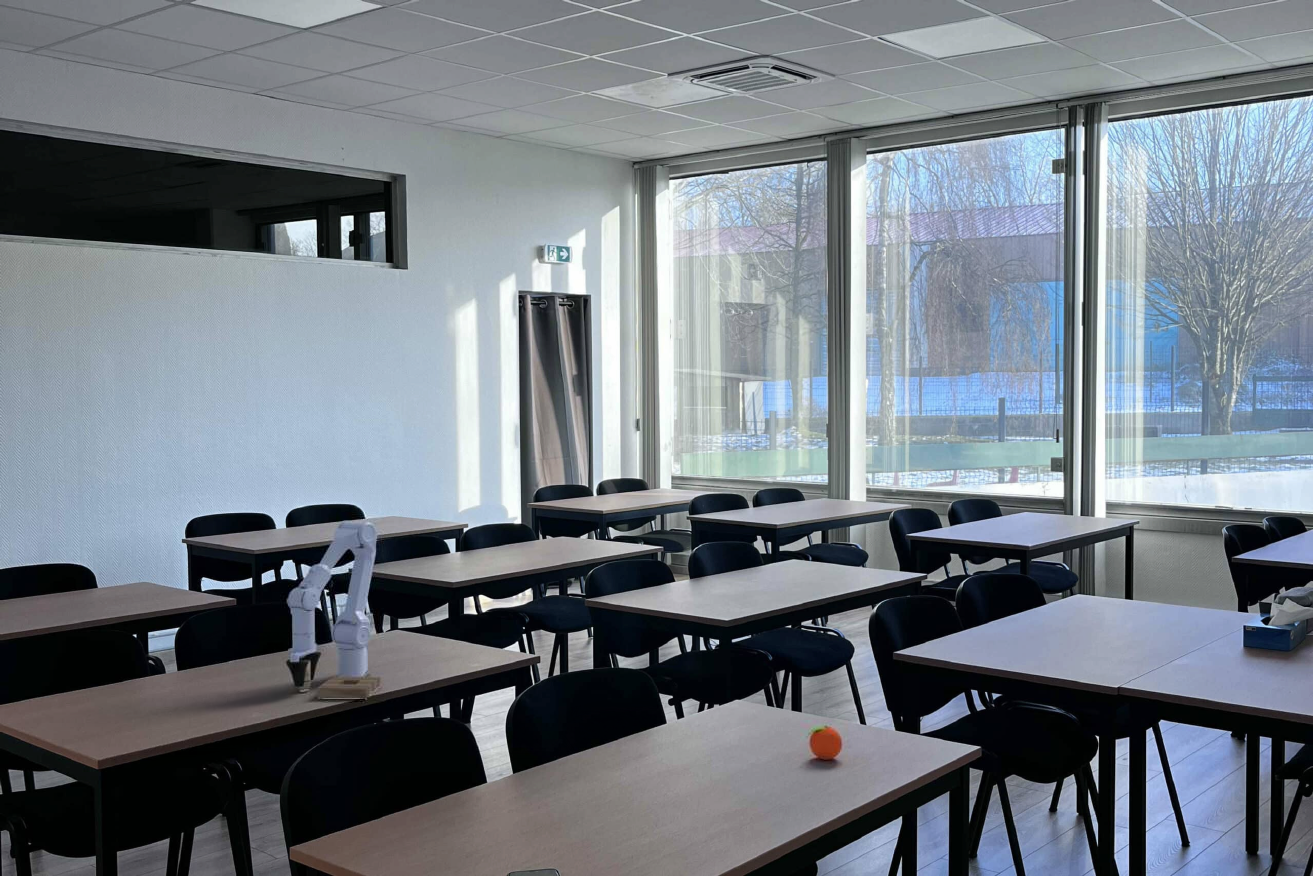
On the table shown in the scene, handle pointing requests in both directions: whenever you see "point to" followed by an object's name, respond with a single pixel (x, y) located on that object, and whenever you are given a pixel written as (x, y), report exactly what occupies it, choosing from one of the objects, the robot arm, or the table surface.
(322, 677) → the table surface
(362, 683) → the board
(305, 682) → the peg
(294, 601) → the robot arm
